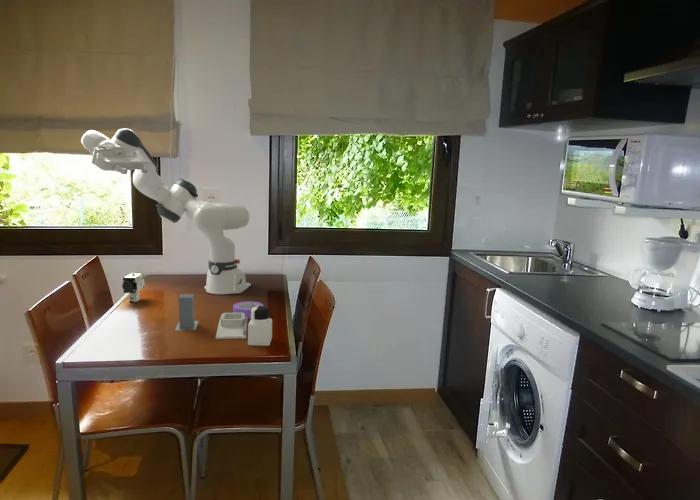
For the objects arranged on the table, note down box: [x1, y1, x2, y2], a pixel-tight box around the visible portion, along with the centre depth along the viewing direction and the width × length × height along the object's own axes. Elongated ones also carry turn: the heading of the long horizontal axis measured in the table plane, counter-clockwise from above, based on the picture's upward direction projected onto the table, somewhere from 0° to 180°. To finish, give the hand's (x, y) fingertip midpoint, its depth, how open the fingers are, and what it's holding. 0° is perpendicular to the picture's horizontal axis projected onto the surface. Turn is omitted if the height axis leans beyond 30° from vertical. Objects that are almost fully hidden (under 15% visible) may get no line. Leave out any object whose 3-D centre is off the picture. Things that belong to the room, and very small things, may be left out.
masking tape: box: [232, 301, 264, 320], centre depth 195 cm, size 12×12×4 cm
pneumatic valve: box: [121, 272, 146, 303], centre depth 205 cm, size 6×12×12 cm, turn 1°
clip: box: [178, 293, 195, 328], centre depth 178 cm, size 4×4×11 cm
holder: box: [215, 312, 248, 340], centre depth 177 cm, size 20×10×4 cm, turn 10°
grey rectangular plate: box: [174, 320, 200, 332], centre depth 179 cm, size 10×7×1 cm
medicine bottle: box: [247, 305, 273, 347], centre depth 166 cm, size 7×7×12 cm
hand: (136, 172), depth 189 cm, fingers open, 8 cm apart
